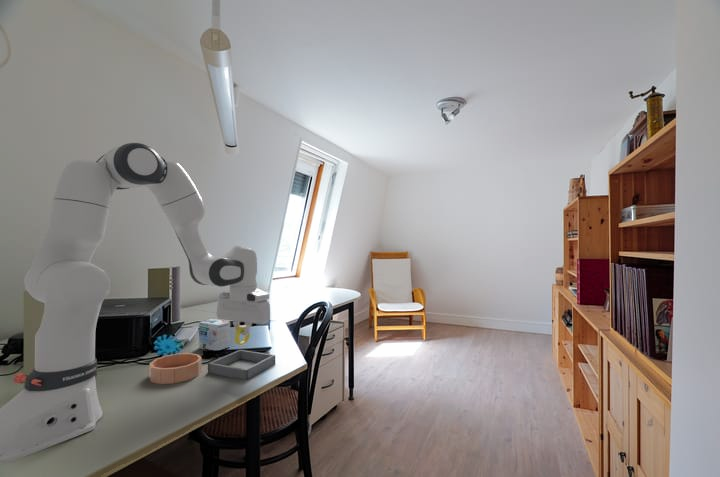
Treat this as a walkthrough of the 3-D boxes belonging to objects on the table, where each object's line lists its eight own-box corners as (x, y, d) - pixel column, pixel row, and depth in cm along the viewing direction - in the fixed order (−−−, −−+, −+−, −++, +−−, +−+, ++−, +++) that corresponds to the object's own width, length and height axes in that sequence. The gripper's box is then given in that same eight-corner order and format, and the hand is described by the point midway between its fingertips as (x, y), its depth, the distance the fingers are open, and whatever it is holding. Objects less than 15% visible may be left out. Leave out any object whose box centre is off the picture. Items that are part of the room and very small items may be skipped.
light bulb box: (198, 348, 141) (198, 321, 141) (211, 344, 147) (211, 318, 147) (217, 352, 136) (217, 324, 136) (230, 347, 142) (230, 321, 142)
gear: (159, 358, 125) (152, 334, 129) (151, 367, 126) (144, 344, 131) (188, 354, 134) (181, 332, 138) (181, 363, 136) (173, 341, 140)
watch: (244, 341, 123) (245, 324, 124) (250, 342, 122) (251, 325, 123) (232, 344, 118) (233, 326, 118) (239, 345, 117) (240, 327, 117)
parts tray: (246, 379, 110) (246, 370, 110) (207, 372, 116) (207, 363, 116) (275, 363, 125) (275, 355, 125) (239, 357, 131) (240, 349, 131)
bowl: (173, 386, 105) (173, 371, 105) (139, 379, 110) (139, 364, 110) (210, 369, 118) (210, 356, 118) (178, 363, 124) (178, 351, 124)
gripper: (212, 292, 121) (211, 332, 121) (261, 297, 114) (260, 340, 114) (225, 290, 127) (225, 328, 127) (273, 294, 120) (272, 335, 119)
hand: (242, 334), depth 120 cm, fingers closed on watch
